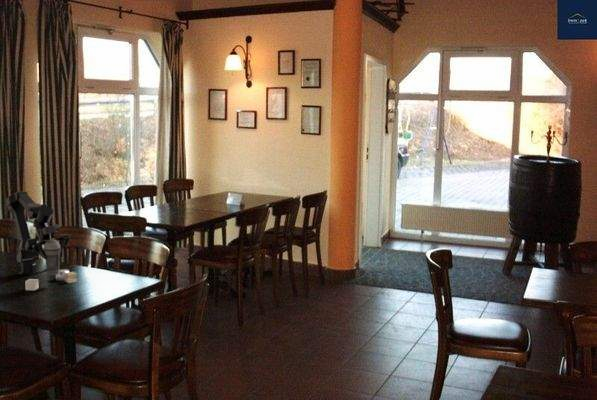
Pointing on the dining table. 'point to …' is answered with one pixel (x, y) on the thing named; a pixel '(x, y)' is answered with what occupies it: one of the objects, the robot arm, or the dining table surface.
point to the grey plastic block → (31, 284)
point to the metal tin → (61, 275)
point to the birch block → (70, 277)
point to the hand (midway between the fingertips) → (53, 257)
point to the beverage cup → (52, 256)
